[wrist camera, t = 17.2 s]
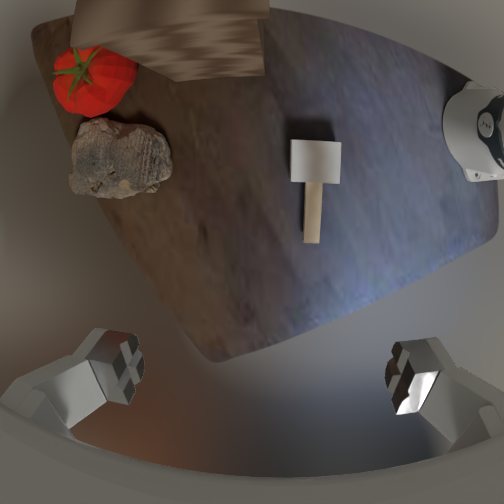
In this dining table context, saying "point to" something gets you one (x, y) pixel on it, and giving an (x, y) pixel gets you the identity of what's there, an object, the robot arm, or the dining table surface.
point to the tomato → (92, 80)
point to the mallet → (314, 178)
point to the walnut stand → (178, 35)
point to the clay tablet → (118, 159)
